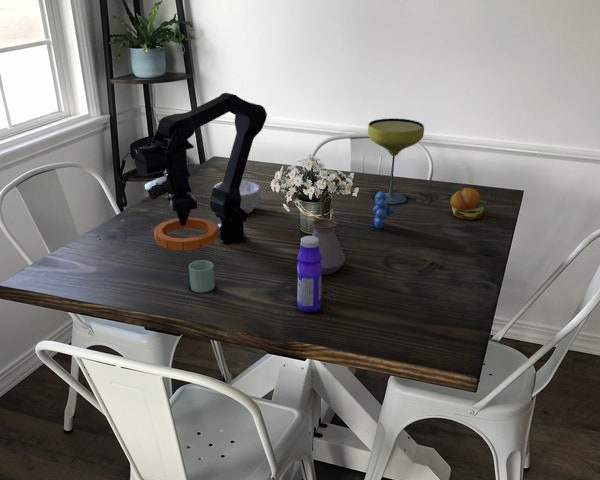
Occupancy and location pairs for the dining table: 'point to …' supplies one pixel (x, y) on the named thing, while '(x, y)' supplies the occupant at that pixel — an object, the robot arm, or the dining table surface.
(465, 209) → the cheeseburger
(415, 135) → the cocktail glass
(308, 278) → the bottle
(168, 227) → the ring
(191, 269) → the cup
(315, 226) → the coffee pot
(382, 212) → the grapes
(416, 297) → the dining table surface
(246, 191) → the paper bowls
